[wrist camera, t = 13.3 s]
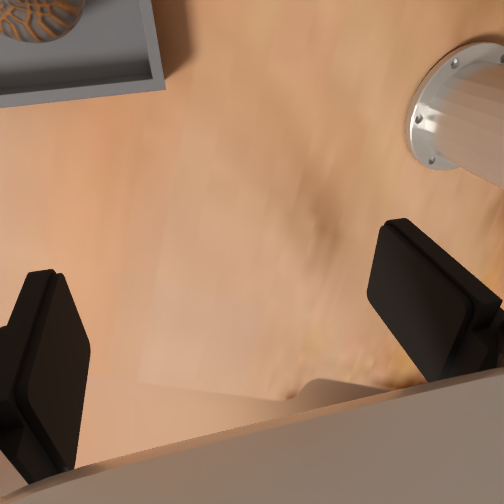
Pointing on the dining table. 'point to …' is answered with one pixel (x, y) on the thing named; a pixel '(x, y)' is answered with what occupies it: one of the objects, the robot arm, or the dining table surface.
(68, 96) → the tray
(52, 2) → the vase
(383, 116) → the dining table surface
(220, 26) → the dining table surface
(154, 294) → the dining table surface
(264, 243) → the dining table surface
